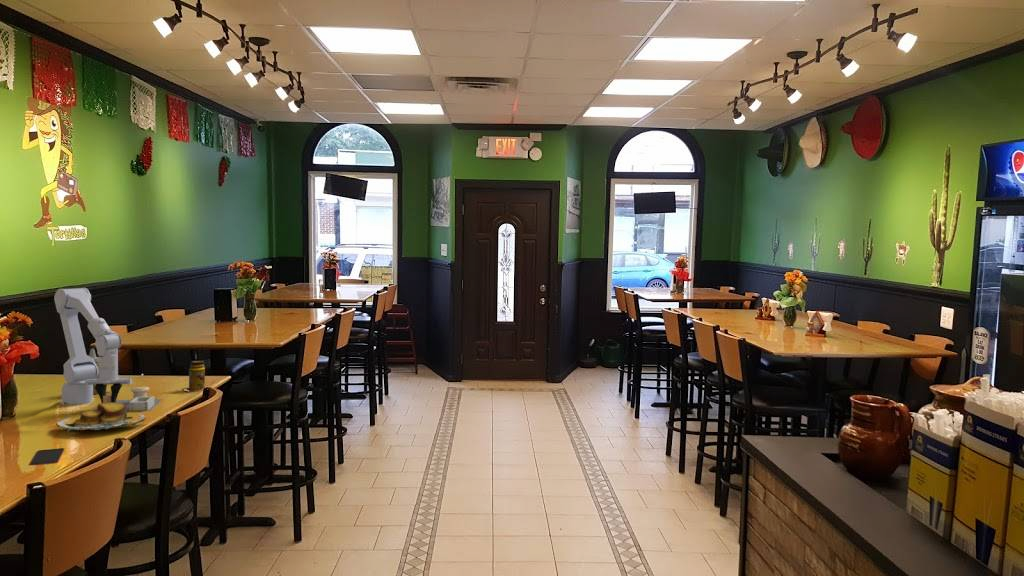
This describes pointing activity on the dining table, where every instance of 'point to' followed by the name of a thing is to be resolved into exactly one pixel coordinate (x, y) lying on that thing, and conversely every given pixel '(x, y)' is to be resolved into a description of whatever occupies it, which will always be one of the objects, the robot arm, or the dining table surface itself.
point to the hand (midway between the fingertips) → (108, 404)
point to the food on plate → (101, 418)
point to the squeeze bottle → (96, 359)
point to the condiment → (196, 376)
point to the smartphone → (47, 456)
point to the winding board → (139, 400)
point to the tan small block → (107, 398)
